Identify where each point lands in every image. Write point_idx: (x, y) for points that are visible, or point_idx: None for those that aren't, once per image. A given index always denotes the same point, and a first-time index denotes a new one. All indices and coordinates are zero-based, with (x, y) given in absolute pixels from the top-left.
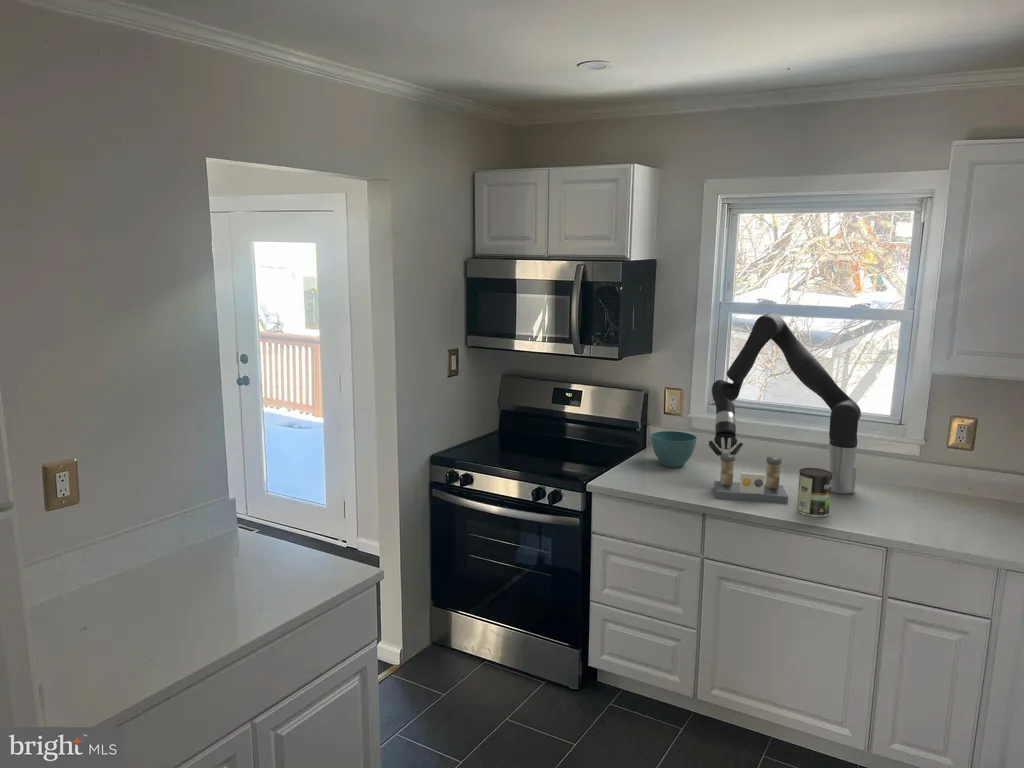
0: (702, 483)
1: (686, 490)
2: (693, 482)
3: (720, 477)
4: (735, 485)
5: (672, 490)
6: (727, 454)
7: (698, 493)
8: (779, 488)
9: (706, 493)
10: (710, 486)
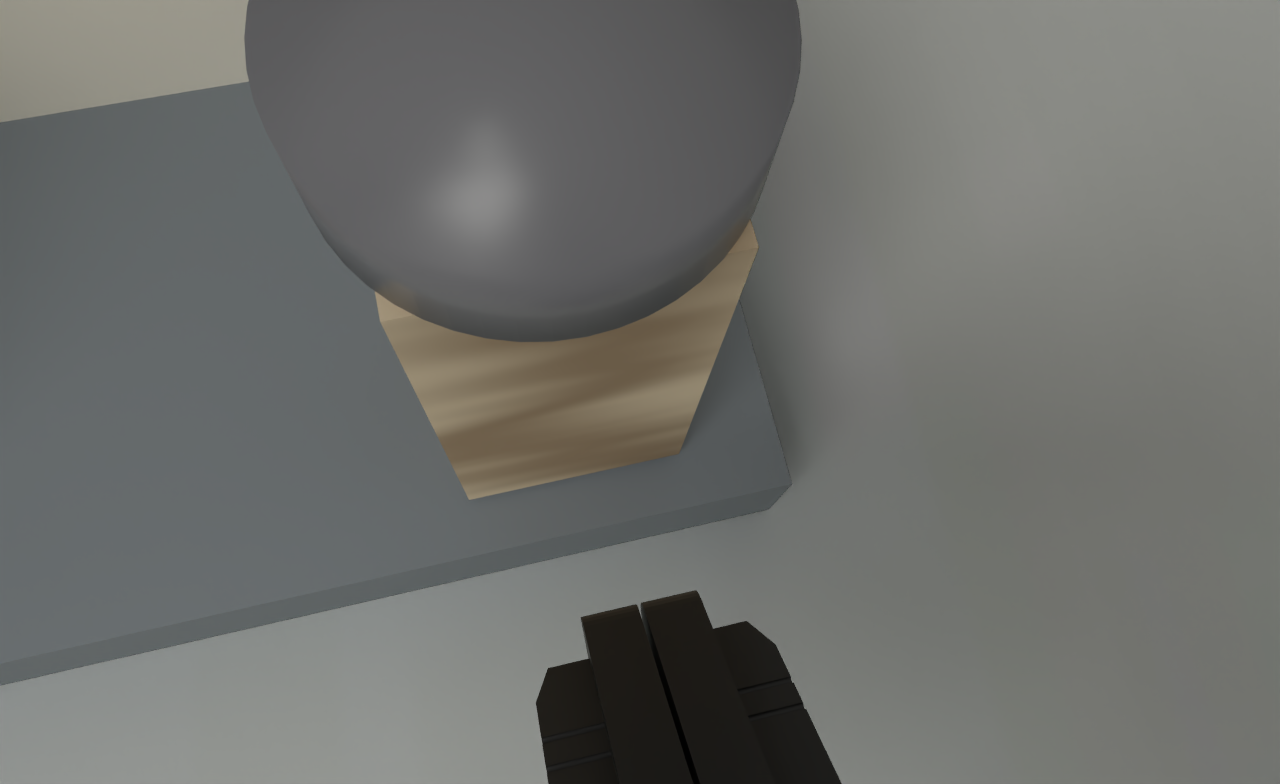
0: (1002, 650)
1: (1100, 176)
2: (1155, 636)
3: (686, 426)
4: (380, 367)
5: (1266, 99)
6: (567, 156)
7: (906, 116)
8: None
9: (803, 161)
10: (834, 536)
